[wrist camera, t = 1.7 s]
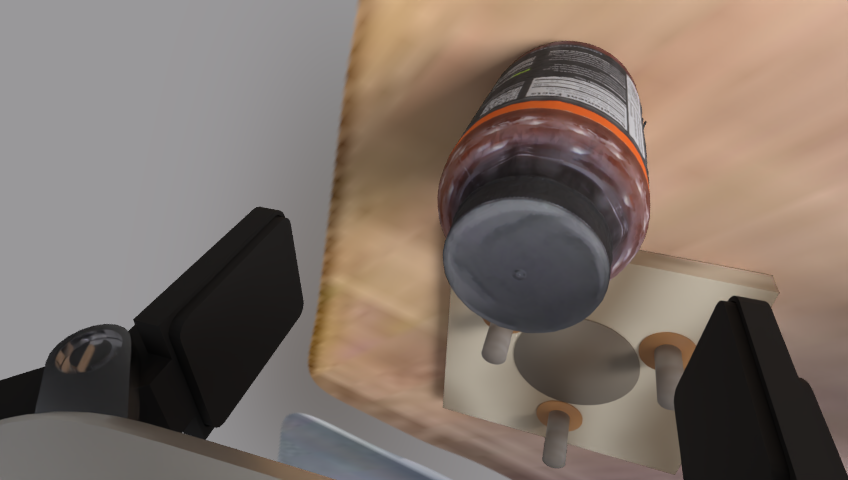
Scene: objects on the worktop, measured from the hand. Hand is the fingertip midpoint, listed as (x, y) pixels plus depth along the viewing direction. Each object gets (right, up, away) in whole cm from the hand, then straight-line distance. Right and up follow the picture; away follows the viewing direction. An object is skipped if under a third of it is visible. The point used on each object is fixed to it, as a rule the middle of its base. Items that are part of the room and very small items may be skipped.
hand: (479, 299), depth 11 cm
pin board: (+7, -5, +16) cm, 18 cm away
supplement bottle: (+5, +7, +10) cm, 13 cm away
